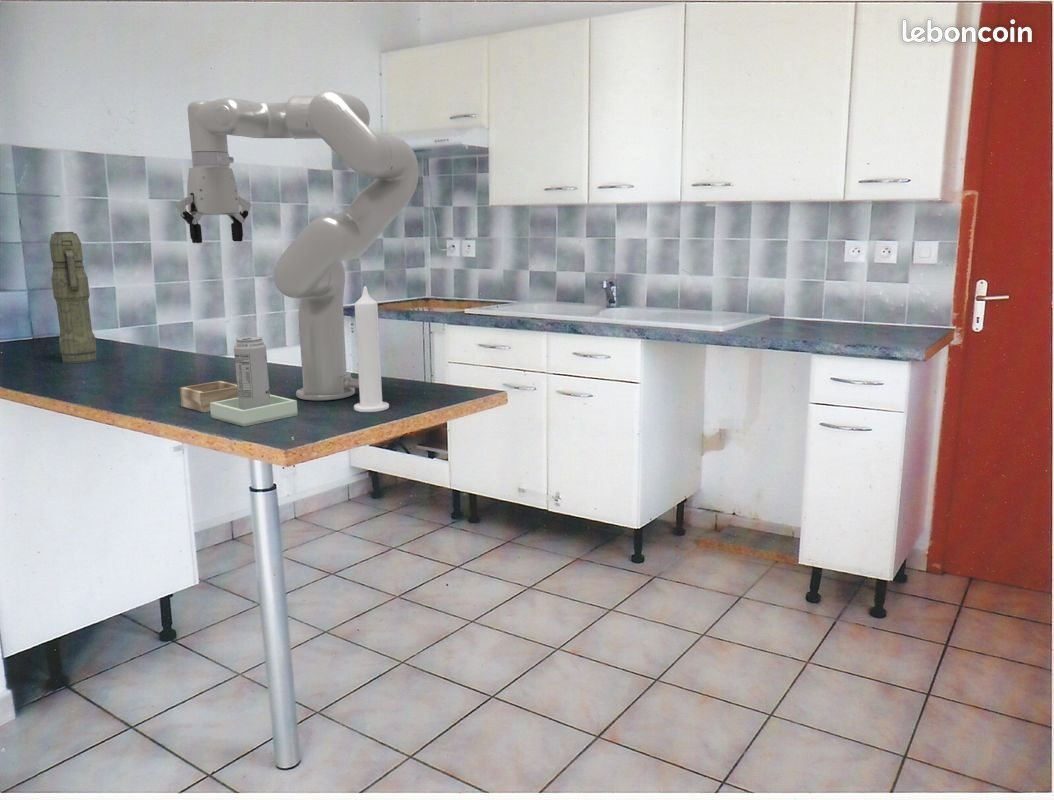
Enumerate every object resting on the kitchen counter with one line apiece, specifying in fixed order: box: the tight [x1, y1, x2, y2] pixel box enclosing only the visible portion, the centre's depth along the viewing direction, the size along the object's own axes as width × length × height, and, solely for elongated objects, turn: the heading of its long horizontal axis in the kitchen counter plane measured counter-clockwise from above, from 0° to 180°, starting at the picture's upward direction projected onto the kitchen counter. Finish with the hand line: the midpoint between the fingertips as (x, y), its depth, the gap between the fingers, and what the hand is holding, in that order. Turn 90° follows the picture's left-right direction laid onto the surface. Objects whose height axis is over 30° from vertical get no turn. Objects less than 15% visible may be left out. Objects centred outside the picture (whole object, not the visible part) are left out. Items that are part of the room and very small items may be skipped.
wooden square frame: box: [179, 380, 238, 413], centre depth 184 cm, size 9×9×4 cm
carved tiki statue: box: [49, 231, 98, 364], centre depth 239 cm, size 9×12×35 cm
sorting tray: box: [209, 394, 299, 428], centre depth 174 cm, size 12×12×3 cm
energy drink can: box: [233, 336, 271, 410], centre depth 173 cm, size 6×6×15 cm
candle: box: [353, 285, 390, 413], centre depth 177 cm, size 7×7×25 cm
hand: (217, 242), depth 193 cm, fingers open, 9 cm apart
